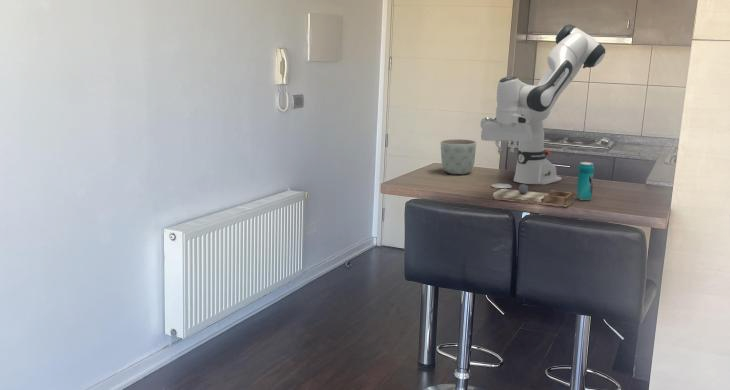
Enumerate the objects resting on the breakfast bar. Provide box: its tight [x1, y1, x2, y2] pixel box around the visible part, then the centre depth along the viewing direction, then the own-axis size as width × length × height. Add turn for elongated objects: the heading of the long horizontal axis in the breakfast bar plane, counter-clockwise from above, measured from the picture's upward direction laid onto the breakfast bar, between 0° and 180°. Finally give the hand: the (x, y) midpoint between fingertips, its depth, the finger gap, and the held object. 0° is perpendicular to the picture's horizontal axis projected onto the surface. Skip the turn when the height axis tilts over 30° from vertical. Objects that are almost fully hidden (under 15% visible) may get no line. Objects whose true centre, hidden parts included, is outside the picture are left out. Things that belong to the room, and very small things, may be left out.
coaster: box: [490, 183, 513, 189], centre depth 315 cm, size 9×9×1 cm
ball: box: [517, 183, 529, 194], centre depth 290 cm, size 4×4×4 cm
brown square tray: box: [541, 189, 574, 205], centre depth 284 cm, size 10×10×4 cm
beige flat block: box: [492, 188, 549, 202], centre depth 291 cm, size 20×10×2 cm, turn 60°
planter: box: [440, 138, 477, 175], centre depth 344 cm, size 17×17×15 cm
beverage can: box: [576, 161, 595, 201], centre depth 289 cm, size 6×6×15 cm
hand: (505, 151), depth 291 cm, fingers open, 3 cm apart
